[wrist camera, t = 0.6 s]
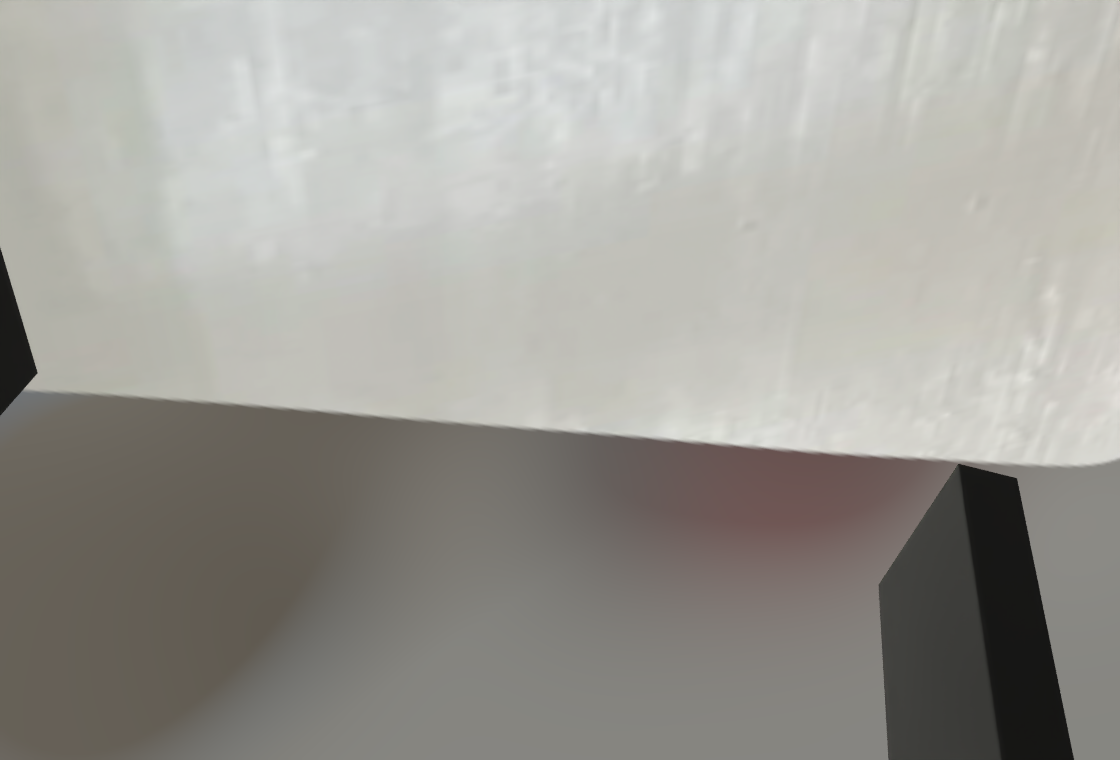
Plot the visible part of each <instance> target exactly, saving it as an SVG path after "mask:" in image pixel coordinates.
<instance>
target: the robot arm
mask: <svg viewBox="0 0 1120 760" xmlns="http://www.w3.org/2000/svg"><path fill="white" fill-rule="evenodd" d="M36 374H37V369H36V366H35V363H34V359H33V356H32V353H31V349H30V346H29V342H28V339H27V336H26V332H25V329H24V326H23V322H22V319H21V316H20V312H19V309H18V306H17V302H16V299H15V295H14V292H13V289H12V285H11V282H10V279H9V275H8V272H7V269H6V265H5V262H4V259H3V255H2V252H1V248H0V415H1V414H2V413H3V412H4V411H5V410H6V408H7V407H8V406H9V405H10V404H11V403H12V402H13V400H14V399H15V398H16V397H17V396H18V395H19V394H20V392H21V391H22V390H23V389H24V388H25V387H26V386H27V384H28V383H29V382H30V381H31V380H32V379H33V378H34V377H35V375H36ZM879 600H880V616H881V635H882V652H883V670H884V688H885V705H886V723H887V738H888V739H887V740H888V758H889V760H1074V758H1073V753H1072V748H1071V743H1070V738H1069V733H1068V728H1067V723H1066V718H1065V714H1064V708H1063V703H1062V699H1061V694H1060V689H1059V684H1058V679H1057V674H1056V669H1055V664H1054V659H1053V654H1052V649H1051V644H1050V640H1049V635H1048V629H1047V625H1046V620H1045V615H1044V610H1043V605H1042V600H1041V595H1040V590H1039V585H1038V580H1037V575H1036V570H1035V565H1034V560H1033V556H1032V551H1031V546H1030V541H1029V536H1028V531H1027V526H1026V521H1025V516H1024V511H1023V506H1022V501H1021V496H1020V491H1019V486H1018V481H1017V478H1014V477H1009V476H1005V475H1001V474H997V473H993V472H989V471H985V470H981V469H977V468H973V467H969V466H965V465H961V464H958V465H957V467H956V468H955V470H954V472H953V473H952V475H951V476H950V478H949V479H948V481H947V482H946V484H945V485H944V487H943V488H942V490H941V491H940V493H939V494H938V496H937V497H936V499H935V500H934V502H933V503H932V505H931V507H930V508H929V509H928V511H927V512H926V514H925V515H924V517H923V519H922V520H921V522H920V523H919V525H918V526H917V528H916V529H915V531H914V532H913V534H912V535H911V537H910V538H909V540H908V541H907V543H906V544H905V546H904V547H903V549H902V550H901V552H900V553H899V555H898V556H897V558H896V559H895V561H894V562H893V564H892V566H891V567H890V568H889V570H888V572H887V573H886V575H885V576H884V578H883V579H882V581H881V582H880V584H879Z"/></svg>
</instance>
